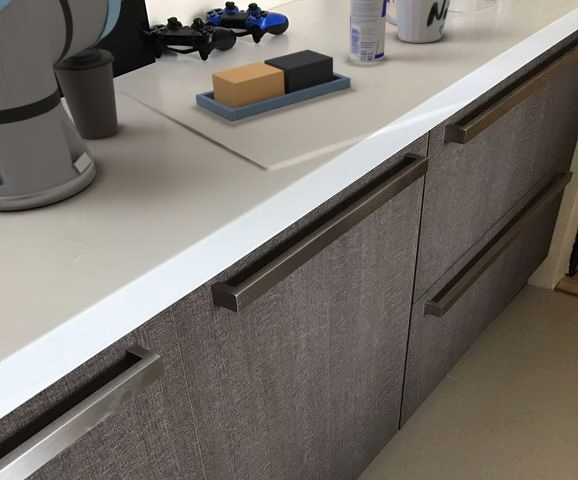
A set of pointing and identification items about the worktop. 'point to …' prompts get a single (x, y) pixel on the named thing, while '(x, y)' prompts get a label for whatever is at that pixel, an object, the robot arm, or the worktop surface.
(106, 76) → the coffee cup
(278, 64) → the charcoal pad
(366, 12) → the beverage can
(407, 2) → the mug
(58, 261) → the worktop surface
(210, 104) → the tray
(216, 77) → the tan block
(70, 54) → the robot arm
